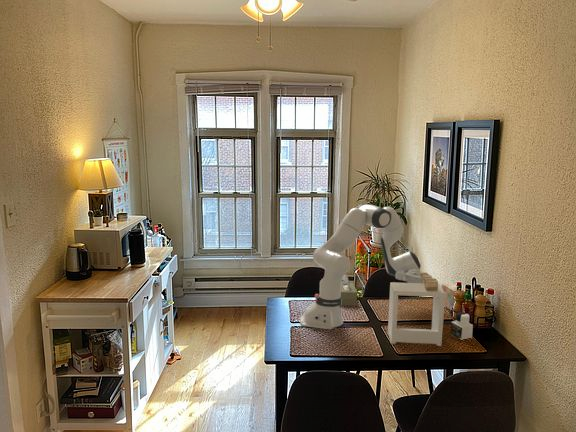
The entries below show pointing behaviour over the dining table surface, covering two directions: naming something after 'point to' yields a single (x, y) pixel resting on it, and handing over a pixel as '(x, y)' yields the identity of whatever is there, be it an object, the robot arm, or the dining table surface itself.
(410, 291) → the white stand
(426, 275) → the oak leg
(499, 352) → the dining table surface
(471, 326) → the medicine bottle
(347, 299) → the tissue box
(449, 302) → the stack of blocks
